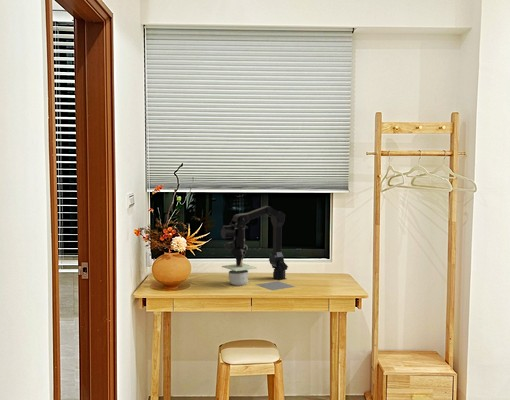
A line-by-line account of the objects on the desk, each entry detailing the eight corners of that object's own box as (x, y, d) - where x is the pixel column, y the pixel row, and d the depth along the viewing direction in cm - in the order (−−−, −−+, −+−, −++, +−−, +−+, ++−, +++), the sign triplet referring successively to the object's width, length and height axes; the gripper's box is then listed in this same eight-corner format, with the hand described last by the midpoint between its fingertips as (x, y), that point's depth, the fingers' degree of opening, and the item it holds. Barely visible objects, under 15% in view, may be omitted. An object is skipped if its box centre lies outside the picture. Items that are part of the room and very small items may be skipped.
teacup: (245, 287, 314) (245, 273, 314) (226, 286, 316) (226, 272, 316) (251, 282, 328) (251, 268, 327) (232, 281, 330) (232, 267, 329)
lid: (242, 264, 331) (242, 256, 331) (256, 268, 320) (256, 260, 319) (221, 267, 323) (221, 258, 323) (235, 271, 312) (235, 262, 311)
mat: (277, 282, 329) (277, 281, 329) (295, 287, 316) (295, 286, 316) (255, 285, 320) (255, 284, 320) (272, 291, 307) (272, 290, 307)
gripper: (228, 234, 331) (228, 261, 332) (221, 239, 312) (221, 267, 313) (247, 235, 329) (247, 262, 330) (241, 239, 310) (241, 268, 312)
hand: (239, 265), depth 321 cm, fingers closed on lid, 3 cm apart
